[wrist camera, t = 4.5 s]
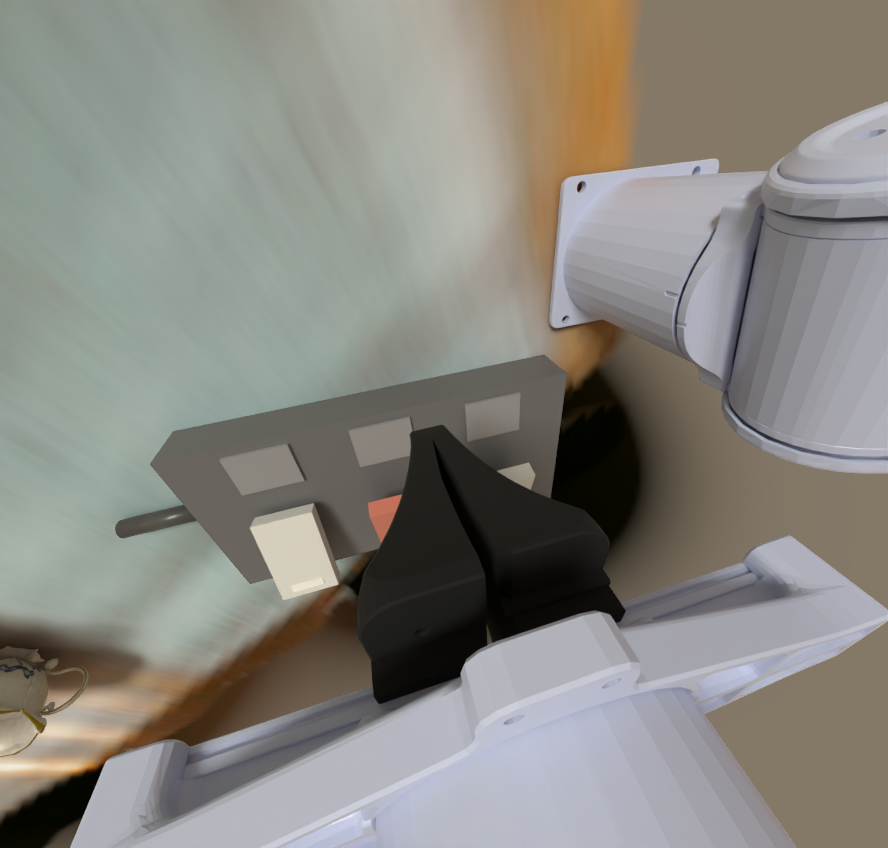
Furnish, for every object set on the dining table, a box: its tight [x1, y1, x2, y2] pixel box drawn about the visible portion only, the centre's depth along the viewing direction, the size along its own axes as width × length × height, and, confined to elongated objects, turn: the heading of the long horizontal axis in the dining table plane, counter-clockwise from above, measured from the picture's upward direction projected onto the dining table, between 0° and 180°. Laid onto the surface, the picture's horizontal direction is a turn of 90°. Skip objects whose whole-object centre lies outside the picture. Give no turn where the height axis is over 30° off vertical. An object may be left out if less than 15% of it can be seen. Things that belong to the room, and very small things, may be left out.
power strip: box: [115, 355, 567, 584], centre depth 23 cm, size 30×12×3 cm, turn 95°
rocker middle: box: [368, 494, 402, 543], centre depth 23 cm, size 4×6×2 cm, turn 6°
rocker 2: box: [497, 463, 535, 490], centre depth 24 cm, size 4×6×2 cm, turn 6°
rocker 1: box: [250, 503, 340, 600], centre depth 22 cm, size 4×6×2 cm, turn 6°
